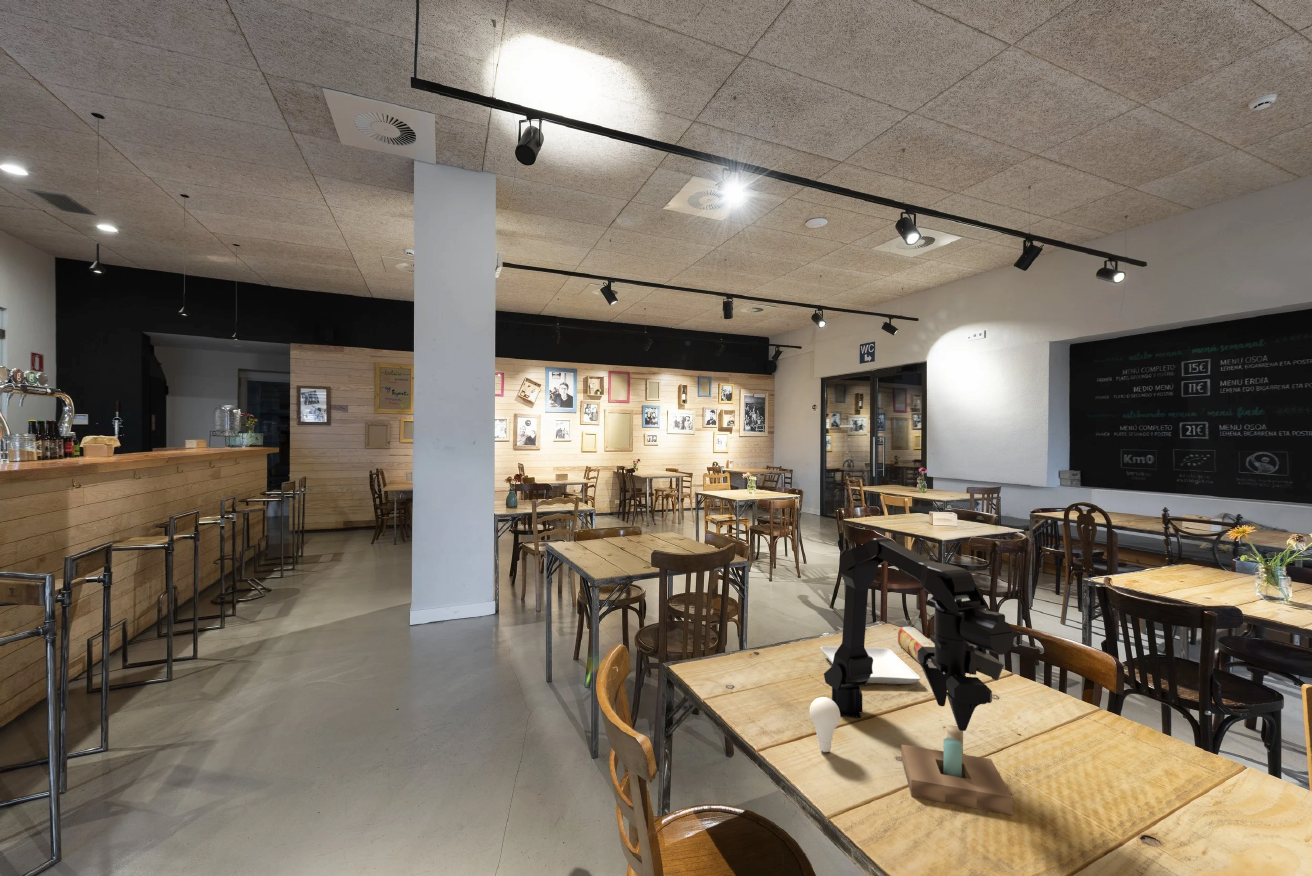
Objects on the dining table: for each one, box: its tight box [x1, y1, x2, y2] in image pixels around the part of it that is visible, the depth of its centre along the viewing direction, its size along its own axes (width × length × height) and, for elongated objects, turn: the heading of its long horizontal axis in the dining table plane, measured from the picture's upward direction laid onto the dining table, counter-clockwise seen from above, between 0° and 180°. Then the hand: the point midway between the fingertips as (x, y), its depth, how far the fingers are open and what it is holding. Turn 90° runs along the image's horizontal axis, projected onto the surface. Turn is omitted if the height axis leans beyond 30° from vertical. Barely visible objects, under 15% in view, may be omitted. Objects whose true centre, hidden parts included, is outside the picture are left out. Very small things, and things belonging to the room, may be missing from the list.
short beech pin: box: [946, 724, 964, 755], centre depth 111 cm, size 3×3×5 cm
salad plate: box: [820, 646, 921, 685], centre depth 151 cm, size 21×21×3 cm
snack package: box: [897, 626, 935, 664], centre depth 160 cm, size 21×7×7 cm, turn 177°
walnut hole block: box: [901, 744, 1013, 816], centre depth 100 cm, size 16×12×3 cm
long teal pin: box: [943, 737, 962, 778], centre depth 100 cm, size 3×3×8 cm
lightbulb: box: [809, 696, 841, 753], centre depth 111 cm, size 6×6×11 cm
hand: (951, 717), depth 101 cm, fingers open, 9 cm apart
